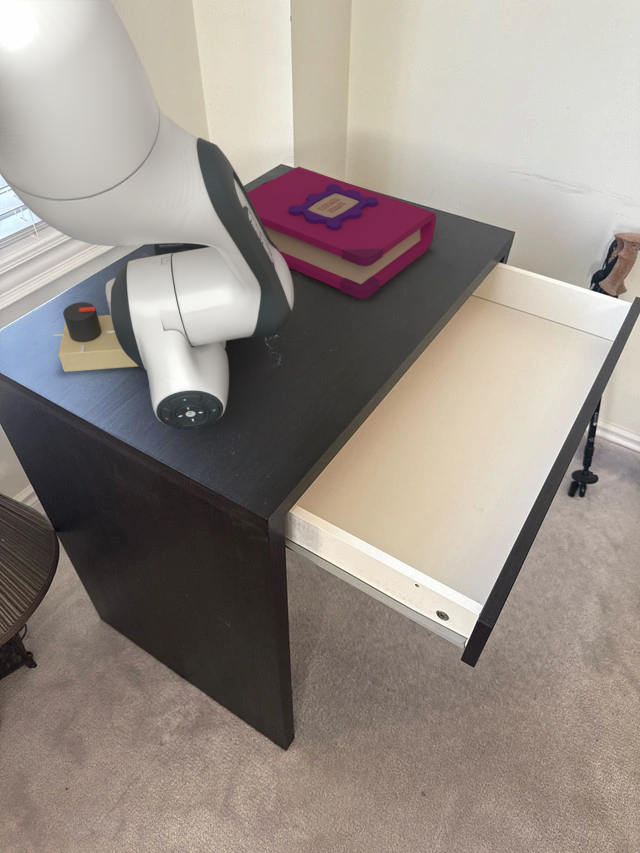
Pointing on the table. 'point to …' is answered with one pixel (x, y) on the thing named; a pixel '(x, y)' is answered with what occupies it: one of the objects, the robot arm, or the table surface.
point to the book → (341, 230)
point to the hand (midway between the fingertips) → (187, 266)
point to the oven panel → (93, 350)
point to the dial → (82, 322)
